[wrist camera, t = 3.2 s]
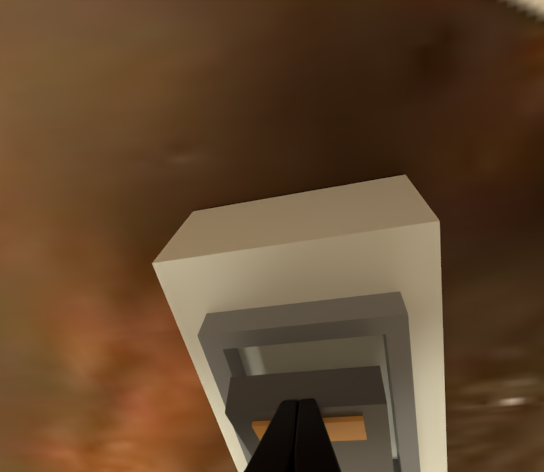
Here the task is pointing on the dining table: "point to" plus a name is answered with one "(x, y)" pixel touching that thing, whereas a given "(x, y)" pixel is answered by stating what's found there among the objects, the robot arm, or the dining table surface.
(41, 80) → the dining table surface
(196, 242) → the switch box
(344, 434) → the rocker
